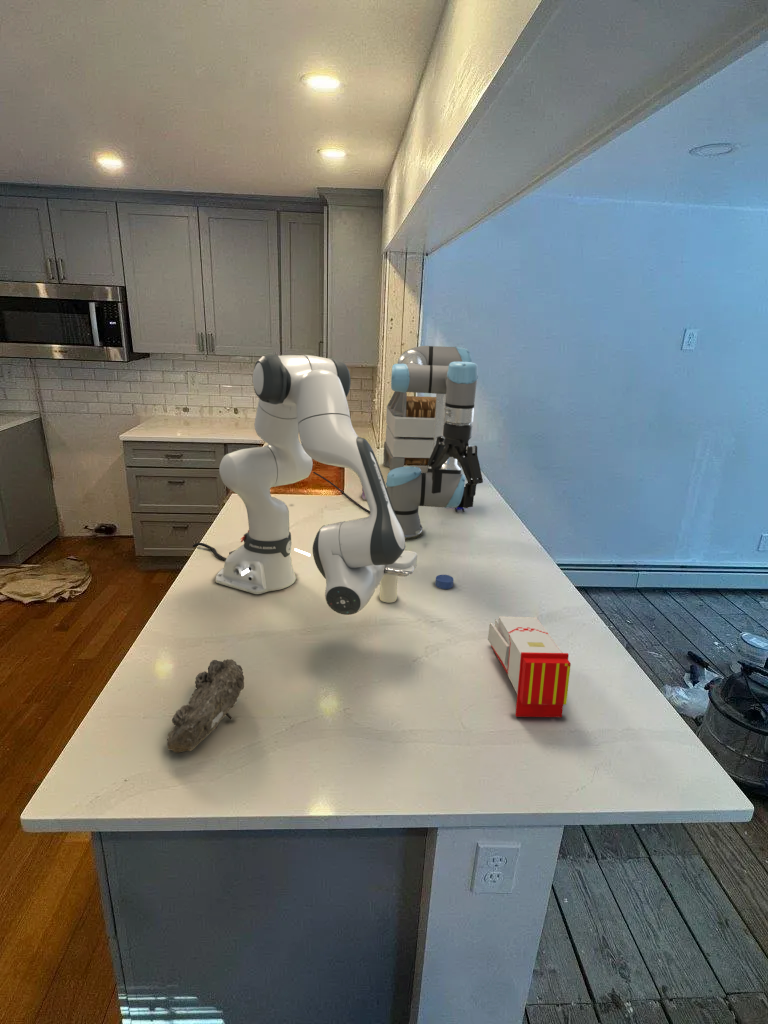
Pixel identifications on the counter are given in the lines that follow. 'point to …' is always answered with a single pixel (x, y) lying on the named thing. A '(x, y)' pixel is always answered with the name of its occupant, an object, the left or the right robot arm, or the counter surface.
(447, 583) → the lid
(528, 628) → the toy
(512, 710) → the counter surface
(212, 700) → the fossil
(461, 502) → the figurine character
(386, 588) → the cream bottle
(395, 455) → the grey storage crate
